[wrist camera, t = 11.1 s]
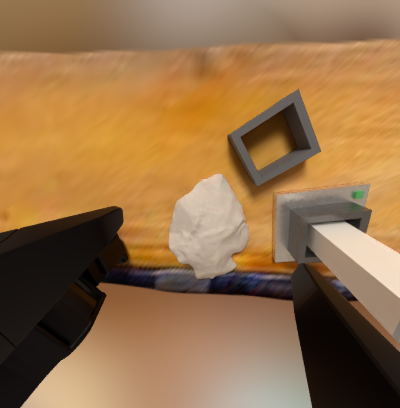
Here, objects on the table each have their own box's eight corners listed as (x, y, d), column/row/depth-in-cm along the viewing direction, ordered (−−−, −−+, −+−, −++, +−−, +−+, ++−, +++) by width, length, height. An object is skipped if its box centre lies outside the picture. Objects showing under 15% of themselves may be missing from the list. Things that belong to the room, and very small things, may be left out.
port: (272, 257, 23) (282, 276, 20) (273, 192, 19) (286, 202, 16) (346, 251, 22) (370, 270, 19) (362, 181, 18) (395, 190, 15)
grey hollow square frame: (251, 181, 19) (257, 186, 17) (227, 135, 17) (230, 134, 15) (306, 150, 17) (321, 151, 15) (285, 96, 16) (298, 89, 13)
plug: (301, 239, 20) (420, 366, 9) (302, 218, 19) (442, 332, 8) (330, 236, 20) (497, 366, 8) (334, 215, 19) (530, 330, 7)
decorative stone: (242, 268, 25) (249, 171, 21) (252, 287, 21) (262, 174, 17) (172, 273, 24) (165, 173, 20) (170, 294, 20) (160, 176, 16)
